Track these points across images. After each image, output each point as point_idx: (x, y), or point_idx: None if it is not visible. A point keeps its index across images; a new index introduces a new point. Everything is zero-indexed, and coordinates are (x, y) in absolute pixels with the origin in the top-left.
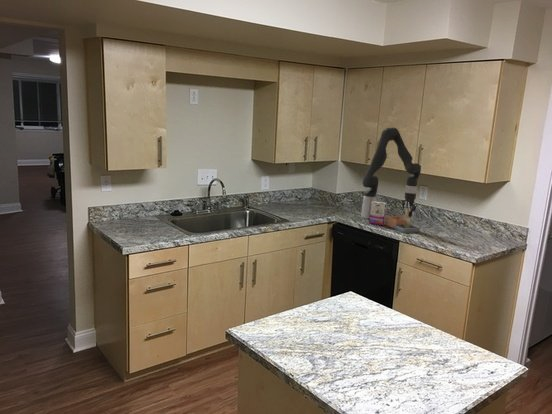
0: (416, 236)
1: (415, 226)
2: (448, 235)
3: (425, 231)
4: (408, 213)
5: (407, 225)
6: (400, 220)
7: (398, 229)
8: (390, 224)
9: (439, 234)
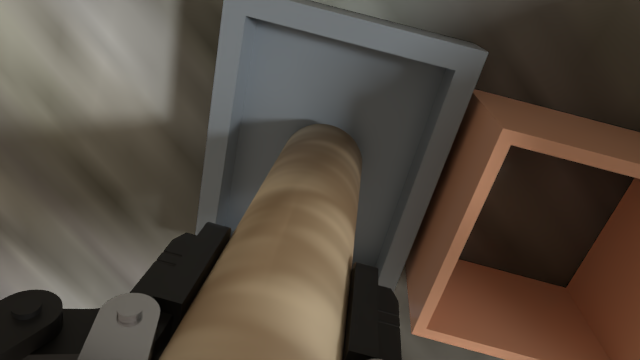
0: (59, 17)
1: None
2: None
3: None
4: (216, 267)
5: (280, 153)
6: (459, 212)
7: (355, 14)
8: (601, 128)
9: None
